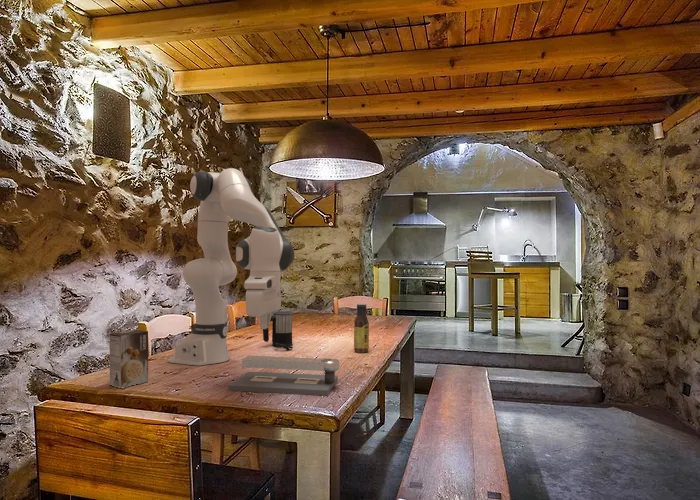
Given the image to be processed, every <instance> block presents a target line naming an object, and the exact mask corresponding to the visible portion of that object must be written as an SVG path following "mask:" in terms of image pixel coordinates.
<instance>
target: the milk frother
mask: <svg viewBox="0 0 700 500" xmlns="http://www.w3.org/2000/svg"><path fill="white" fill-rule="evenodd" d="M272 314H273V315H271V319H270V322H272V323H271V324H272V326H271V327H272V329H271V330H272V331H271V334H272V335H271V342H272V343H271V346H272V347H274V348H283V349H285V350H286V351H289V350H290V349H292V350H293V349H294V348H293V345H294V344H293V314H294V312H292V311H273V312H272ZM269 328H270V327H269ZM269 328H267V329H262V336H263V337H262V338H263V341H264V342H265V343H268V342H269V341H270V337H269V336H270V333H269V330H270V329H269Z"/></svg>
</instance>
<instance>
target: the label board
mask: <svg viewBox="0 0 700 500" xmlns="http://www.w3.org/2000/svg"><path fill="white" fill-rule="evenodd" d="M335 372H336V371H324V374H311V373H310V374H309V373H288V372H287V373H286V372H285V373H284V372H265V371H247V372H246V373H244V374H243V375H241V376H239V378H237V379H236V380H234V381H233V382H231V383H229V384H228V385H227V386H228V387H227V388H228V389H227V390H228V391H230V390H234V391H233V392H236V391H237V392H251V393H253V392H254V393H271V394H285V395H286V394H287V395H289V394H290V395H311V396H326V397H328V396H329V394H330V392H331V391H332V390H333V388H334V387H335V385H336V384H337V383H338V378H339V376H338V375H336V373H335Z"/></svg>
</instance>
